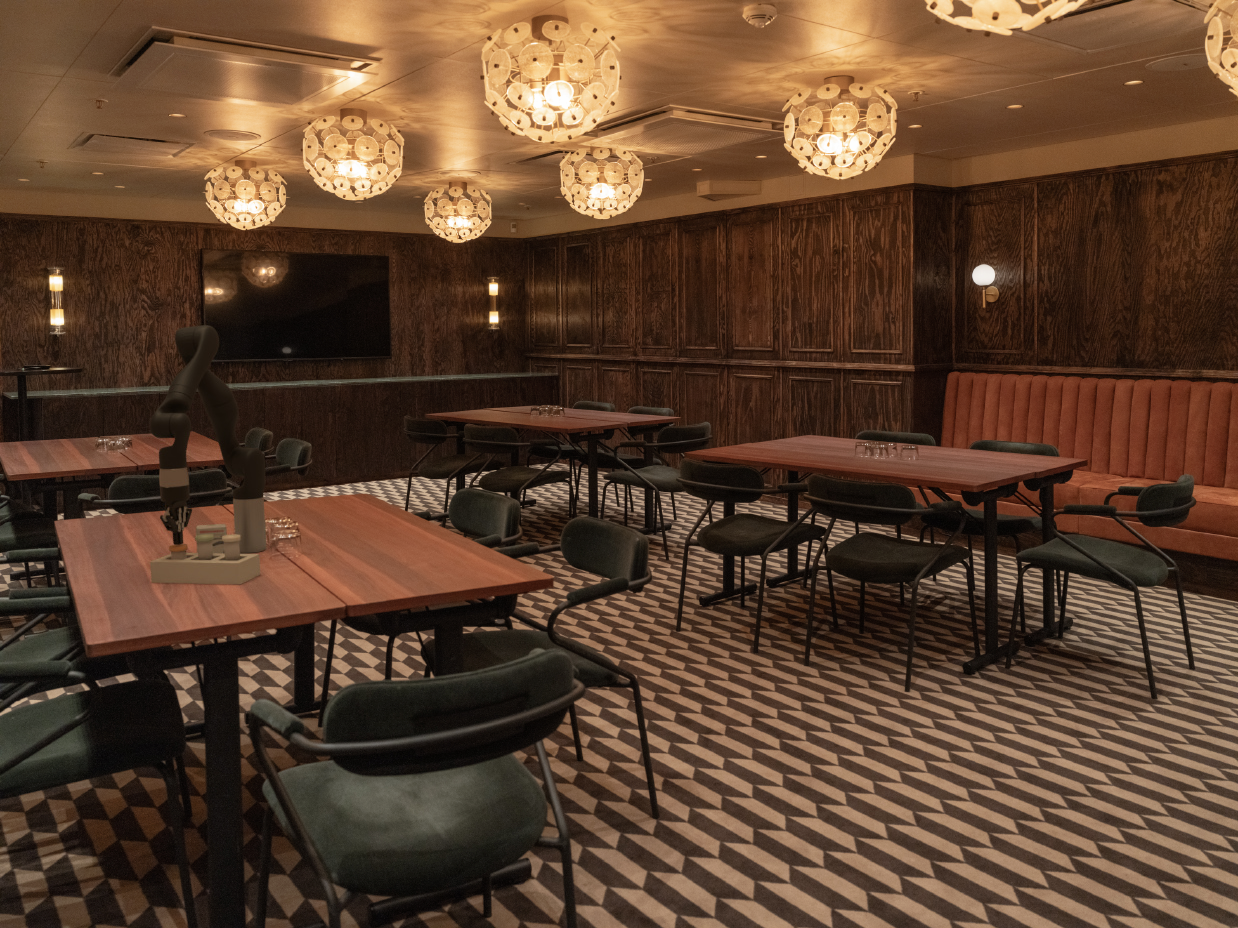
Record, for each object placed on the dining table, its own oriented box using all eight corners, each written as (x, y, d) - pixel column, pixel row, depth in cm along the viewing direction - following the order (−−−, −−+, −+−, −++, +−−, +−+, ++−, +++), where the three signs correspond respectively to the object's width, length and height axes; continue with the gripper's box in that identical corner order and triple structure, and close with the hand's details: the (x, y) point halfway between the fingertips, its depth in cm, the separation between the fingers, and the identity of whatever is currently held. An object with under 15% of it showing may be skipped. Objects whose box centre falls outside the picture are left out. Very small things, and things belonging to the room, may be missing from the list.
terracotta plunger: (176, 571, 282) (174, 543, 281) (192, 572, 281) (190, 544, 280) (167, 575, 277) (165, 547, 276) (183, 576, 277) (181, 547, 276)
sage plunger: (202, 561, 281) (200, 533, 280) (218, 562, 280) (216, 534, 279) (193, 565, 276) (191, 537, 275) (209, 566, 275) (207, 537, 274)
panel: (175, 572, 286) (174, 552, 285) (260, 574, 283) (259, 554, 282) (151, 582, 274) (150, 561, 273) (239, 584, 271) (238, 563, 270)
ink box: (197, 567, 293) (195, 528, 292) (197, 563, 298) (195, 525, 296) (228, 564, 297) (226, 525, 295) (227, 561, 301) (225, 523, 300)
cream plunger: (228, 562, 280) (227, 534, 279) (244, 562, 279) (243, 534, 278) (220, 566, 275) (218, 537, 274) (236, 566, 275) (235, 537, 274)
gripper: (174, 480, 283) (178, 539, 285) (148, 487, 270) (152, 548, 272) (199, 480, 282) (203, 539, 284) (173, 487, 269) (177, 549, 271)
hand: (178, 544), depth 278 cm, fingers closed
